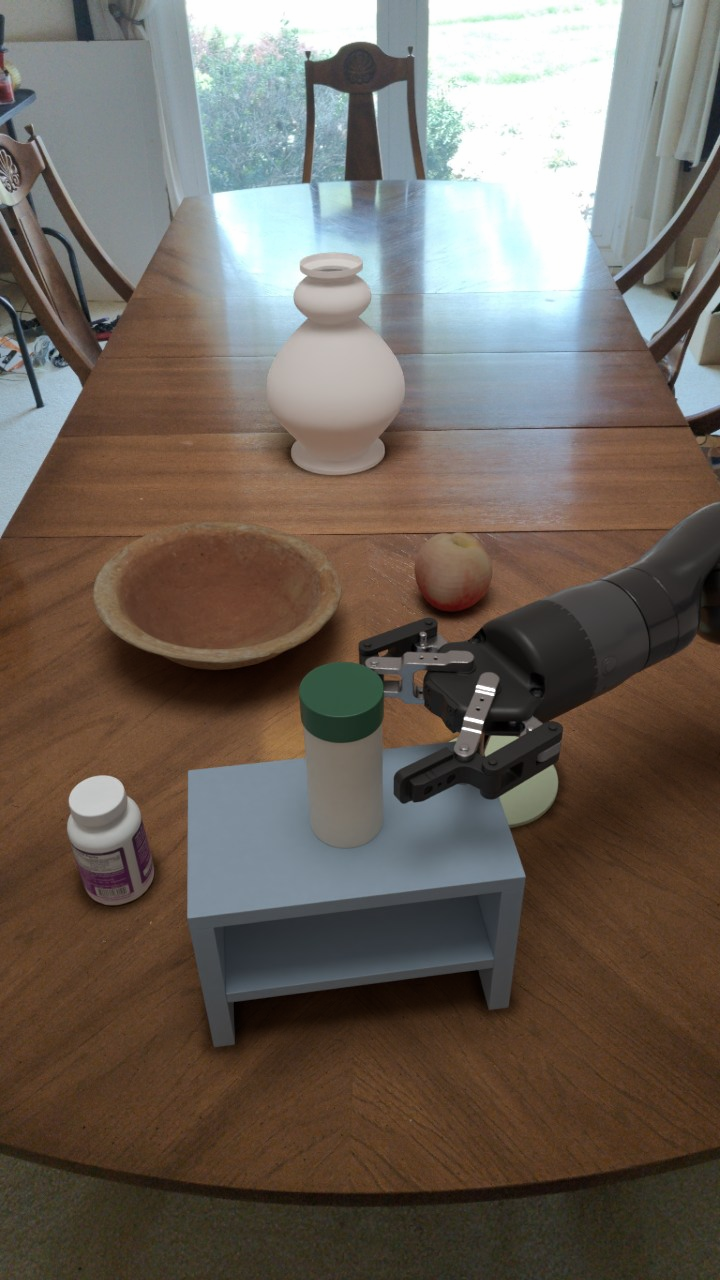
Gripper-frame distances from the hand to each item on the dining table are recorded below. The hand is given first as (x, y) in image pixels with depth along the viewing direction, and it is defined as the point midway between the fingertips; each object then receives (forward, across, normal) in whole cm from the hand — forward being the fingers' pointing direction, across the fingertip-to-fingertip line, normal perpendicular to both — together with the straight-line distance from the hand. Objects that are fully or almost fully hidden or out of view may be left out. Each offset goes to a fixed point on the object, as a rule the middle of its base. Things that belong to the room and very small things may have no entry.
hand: (356, 745), depth 59 cm
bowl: (-8, +38, -20) cm, 44 cm away
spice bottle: (+1, 0, -6) cm, 6 cm away
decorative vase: (-39, +66, -20) cm, 80 cm away
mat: (-18, +8, -20) cm, 28 cm away
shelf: (+1, 0, -20) cm, 20 cm away
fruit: (-31, +30, -20) cm, 48 cm away
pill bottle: (+12, +15, -20) cm, 28 cm away
